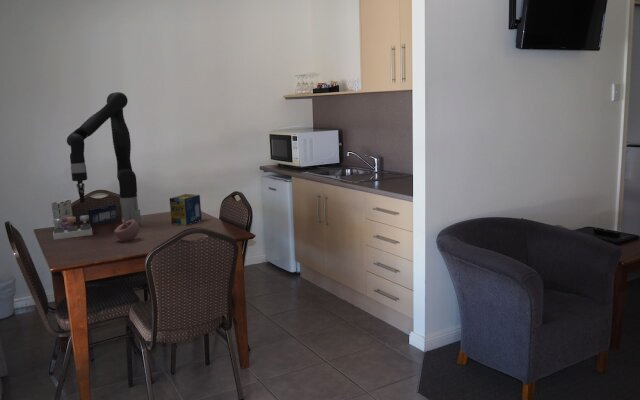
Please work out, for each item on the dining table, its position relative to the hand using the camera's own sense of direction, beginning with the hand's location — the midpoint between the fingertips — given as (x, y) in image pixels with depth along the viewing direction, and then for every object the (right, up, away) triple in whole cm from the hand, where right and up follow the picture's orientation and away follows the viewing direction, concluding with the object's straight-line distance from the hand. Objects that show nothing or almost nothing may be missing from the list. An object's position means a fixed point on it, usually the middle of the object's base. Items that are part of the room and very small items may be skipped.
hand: (82, 201), depth 299 cm
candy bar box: (-18, -16, +20) cm, 31 cm away
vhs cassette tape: (-1, -13, +33) cm, 35 cm away
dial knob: (-5, -13, -1) cm, 14 cm away
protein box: (+51, -12, +24) cm, 57 cm away
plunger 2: (+1, -12, +2) cm, 12 cm away
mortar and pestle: (+30, -20, -17) cm, 40 cm away
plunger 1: (-11, -13, -4) cm, 18 cm away
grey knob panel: (-5, -18, 0) cm, 19 cm away
